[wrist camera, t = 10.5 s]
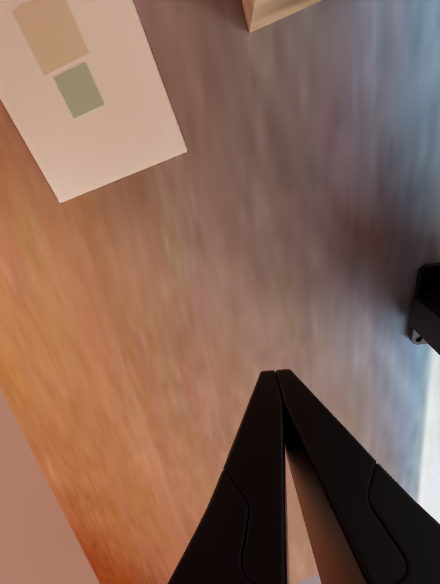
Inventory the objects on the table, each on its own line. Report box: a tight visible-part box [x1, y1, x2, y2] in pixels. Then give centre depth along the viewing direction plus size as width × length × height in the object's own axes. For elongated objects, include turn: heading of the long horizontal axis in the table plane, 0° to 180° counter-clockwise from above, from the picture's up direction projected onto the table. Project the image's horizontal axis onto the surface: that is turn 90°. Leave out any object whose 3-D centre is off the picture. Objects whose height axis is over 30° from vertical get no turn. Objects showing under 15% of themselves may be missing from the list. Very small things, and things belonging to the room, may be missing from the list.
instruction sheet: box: [0, 0, 188, 203], centre depth 16 cm, size 9×12×1 cm
